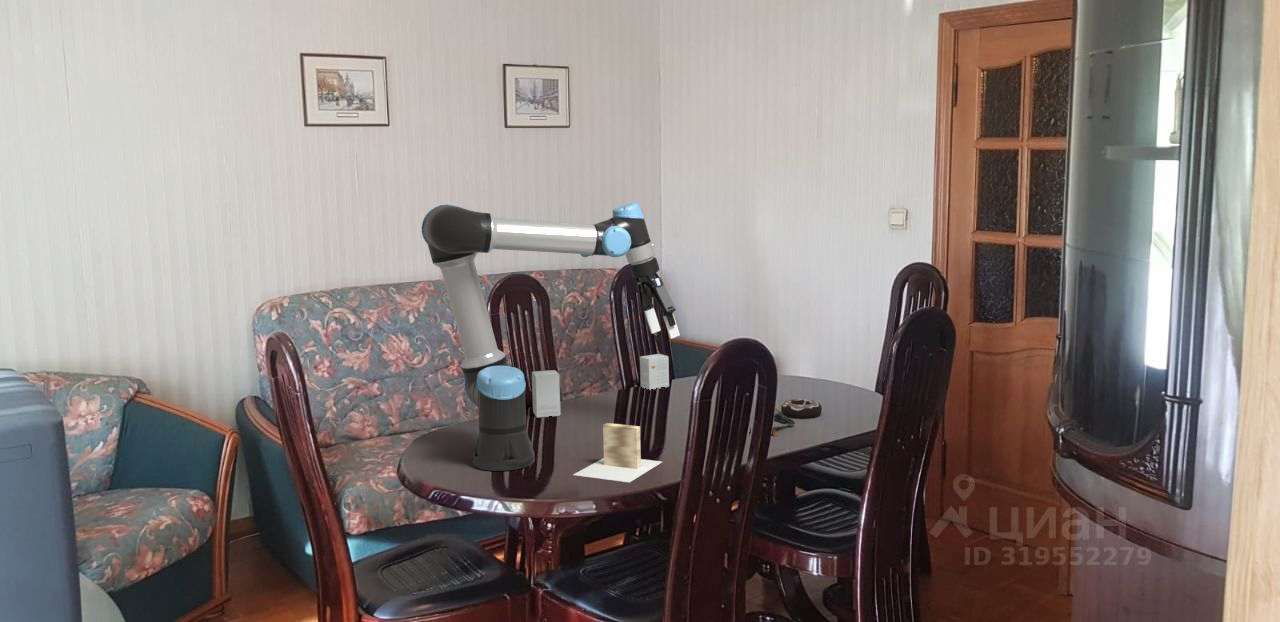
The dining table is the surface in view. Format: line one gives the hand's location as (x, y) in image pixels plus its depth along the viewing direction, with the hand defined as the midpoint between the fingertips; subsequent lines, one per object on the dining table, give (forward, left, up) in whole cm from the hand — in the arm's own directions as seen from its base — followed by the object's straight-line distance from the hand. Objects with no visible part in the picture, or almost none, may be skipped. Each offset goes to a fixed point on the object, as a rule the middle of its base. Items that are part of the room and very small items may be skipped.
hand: (665, 334), depth 278 cm
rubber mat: (+5, -38, -27) cm, 47 cm away
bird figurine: (+25, +9, -27) cm, 38 cm away
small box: (-28, +51, -27) cm, 64 cm away
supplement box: (-42, +5, -27) cm, 50 cm away
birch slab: (+5, -36, -26) cm, 45 cm away
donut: (+28, +32, -27) cm, 51 cm away
